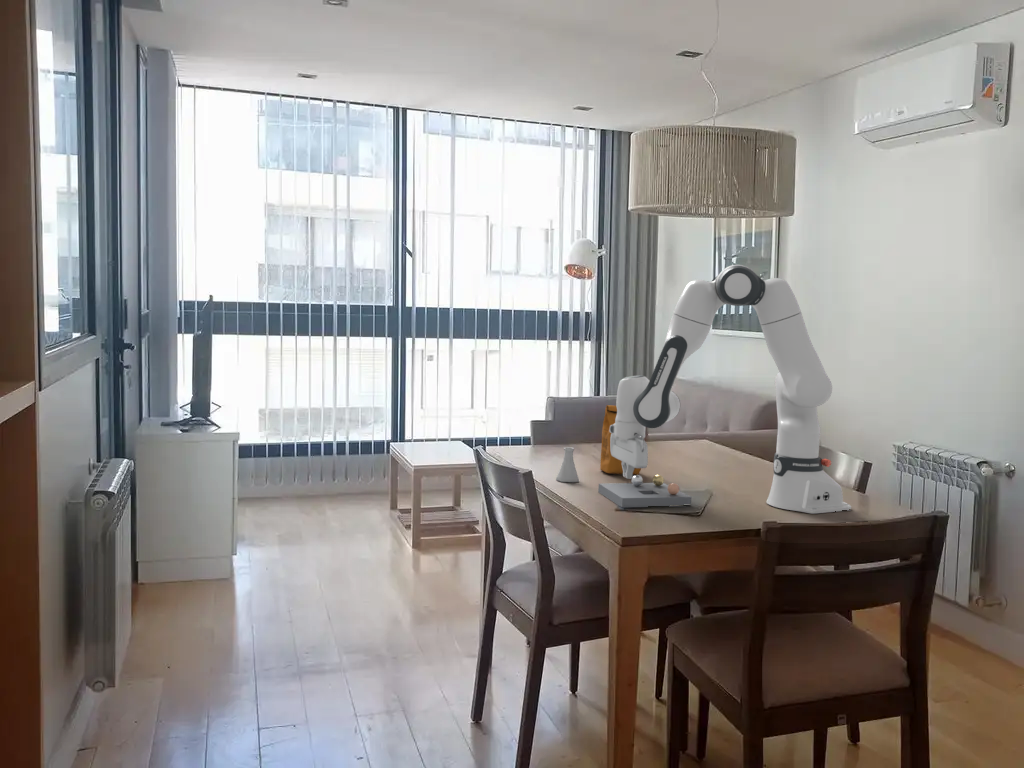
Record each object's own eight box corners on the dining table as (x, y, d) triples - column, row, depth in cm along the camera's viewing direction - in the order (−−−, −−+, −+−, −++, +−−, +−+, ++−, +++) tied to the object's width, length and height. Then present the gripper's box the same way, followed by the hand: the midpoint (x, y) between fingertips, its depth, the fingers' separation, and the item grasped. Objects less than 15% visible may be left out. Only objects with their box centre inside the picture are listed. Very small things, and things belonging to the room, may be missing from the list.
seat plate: (662, 491, 242) (663, 482, 241) (690, 506, 224) (691, 496, 224) (598, 492, 237) (598, 483, 236) (621, 507, 219) (622, 498, 219)
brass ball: (660, 484, 239) (661, 473, 238) (665, 487, 236) (666, 475, 235) (650, 484, 238) (651, 473, 238) (655, 487, 235) (655, 476, 234)
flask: (559, 483, 247) (561, 450, 246) (552, 478, 254) (553, 446, 253) (582, 483, 249) (584, 450, 248) (574, 478, 256) (576, 445, 255)
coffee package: (643, 476, 262) (647, 407, 260) (604, 476, 260) (608, 406, 258) (634, 470, 272) (638, 403, 270) (597, 469, 270) (601, 402, 268)
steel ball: (639, 484, 237) (640, 473, 237) (644, 487, 234) (644, 476, 234) (629, 485, 236) (630, 473, 236) (633, 487, 233) (634, 476, 233)
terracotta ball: (675, 493, 228) (676, 481, 228) (681, 495, 225) (681, 484, 225) (665, 493, 227) (665, 481, 227) (670, 496, 224) (670, 484, 224)
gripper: (654, 436, 231) (652, 485, 233) (627, 425, 251) (624, 470, 252) (633, 436, 230) (631, 485, 231) (607, 425, 250) (605, 470, 251)
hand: (627, 477), depth 242 cm, fingers closed
